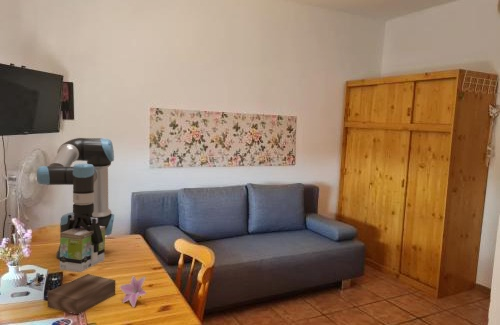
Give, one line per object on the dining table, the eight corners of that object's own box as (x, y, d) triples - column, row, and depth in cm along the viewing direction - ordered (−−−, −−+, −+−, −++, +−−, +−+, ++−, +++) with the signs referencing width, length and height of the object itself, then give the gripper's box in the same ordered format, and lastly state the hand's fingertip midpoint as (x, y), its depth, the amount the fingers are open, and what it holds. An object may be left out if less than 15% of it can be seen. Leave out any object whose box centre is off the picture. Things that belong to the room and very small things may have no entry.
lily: (119, 298, 154) (112, 283, 148) (145, 282, 159) (139, 267, 154) (130, 318, 146) (123, 302, 140) (157, 300, 151) (152, 285, 146)
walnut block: (47, 306, 142) (47, 291, 142) (87, 287, 161) (87, 273, 160) (77, 315, 137) (77, 299, 136) (115, 294, 155) (115, 280, 155)
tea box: (82, 273, 139) (82, 234, 138) (58, 270, 141) (58, 232, 140) (105, 260, 154) (105, 225, 153) (84, 257, 156) (84, 223, 155)
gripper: (53, 201, 146) (53, 256, 148) (99, 207, 138) (98, 265, 140) (69, 198, 153) (68, 250, 155) (113, 204, 145) (112, 259, 147)
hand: (83, 257), depth 147 cm, fingers closed on tea box, 11 cm apart
